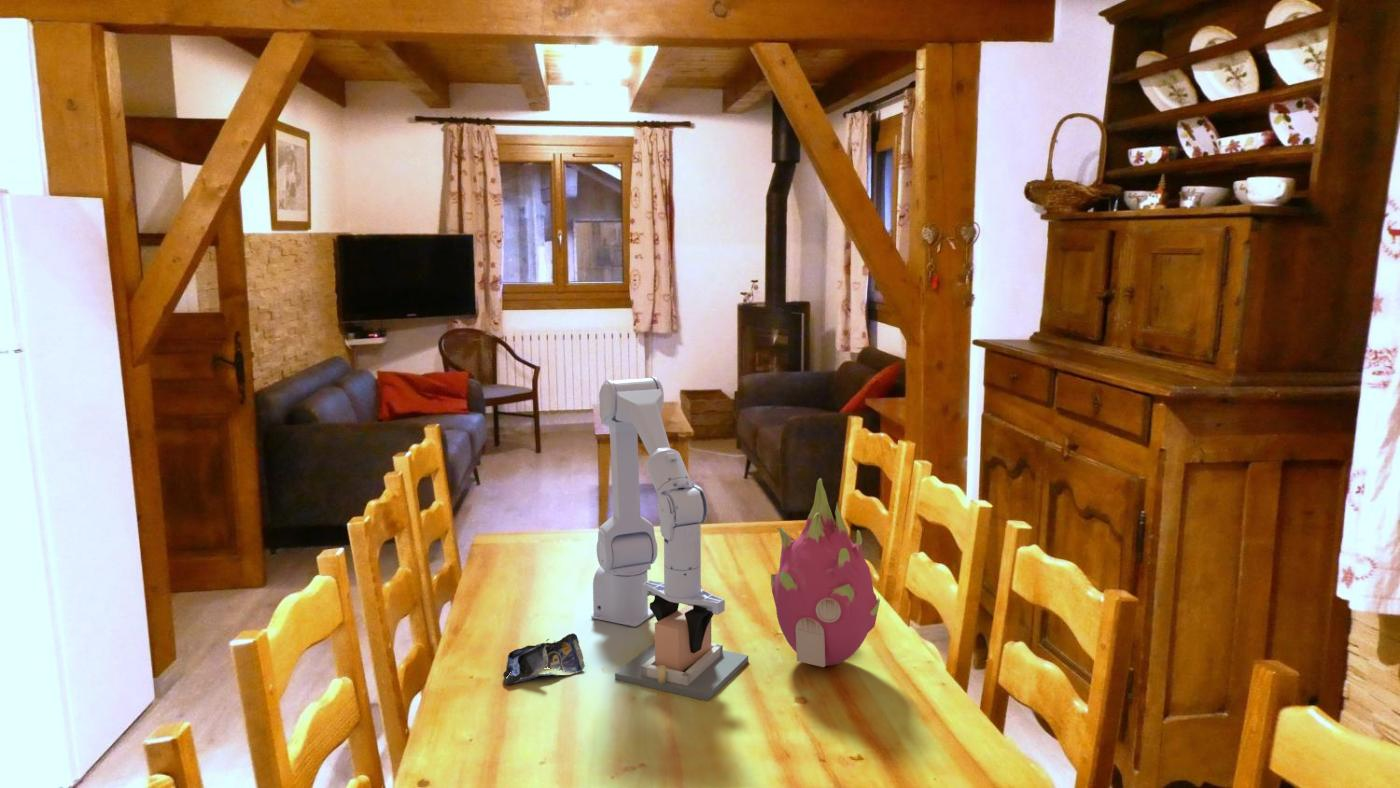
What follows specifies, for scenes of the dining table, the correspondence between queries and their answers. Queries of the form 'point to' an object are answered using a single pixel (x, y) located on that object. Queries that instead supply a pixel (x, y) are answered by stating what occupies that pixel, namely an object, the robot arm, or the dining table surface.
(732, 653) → the socket plate
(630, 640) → the dining table surface
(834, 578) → the pink dragon fruit
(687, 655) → the block
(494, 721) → the dining table surface
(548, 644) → the snack package
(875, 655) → the dining table surface
